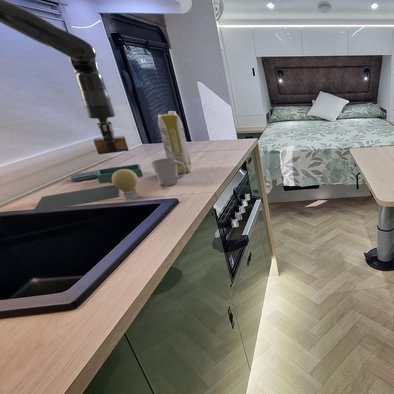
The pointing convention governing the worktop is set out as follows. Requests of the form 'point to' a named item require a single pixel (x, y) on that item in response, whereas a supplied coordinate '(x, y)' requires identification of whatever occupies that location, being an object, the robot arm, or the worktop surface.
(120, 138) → the eraser
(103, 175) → the tray
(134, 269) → the worktop surface
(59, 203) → the slate board
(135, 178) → the light bulb
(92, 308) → the worktop surface
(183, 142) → the juice carton
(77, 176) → the smartphone
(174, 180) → the cup
